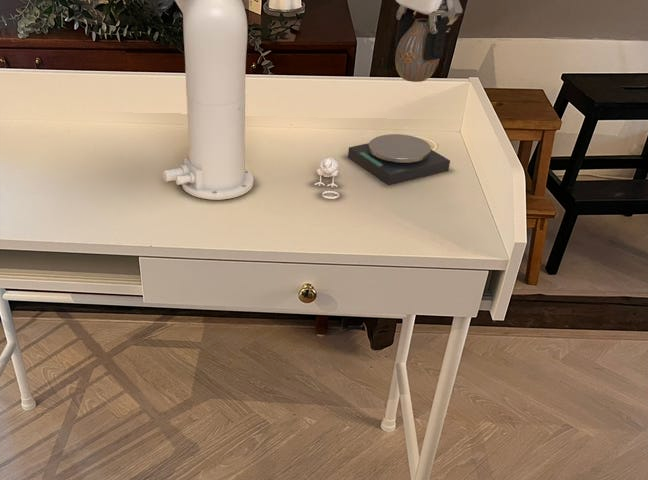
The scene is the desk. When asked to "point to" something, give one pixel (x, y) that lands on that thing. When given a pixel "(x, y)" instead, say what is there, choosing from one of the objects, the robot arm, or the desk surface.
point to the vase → (414, 53)
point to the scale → (397, 165)
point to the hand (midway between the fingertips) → (418, 51)
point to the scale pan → (399, 148)
